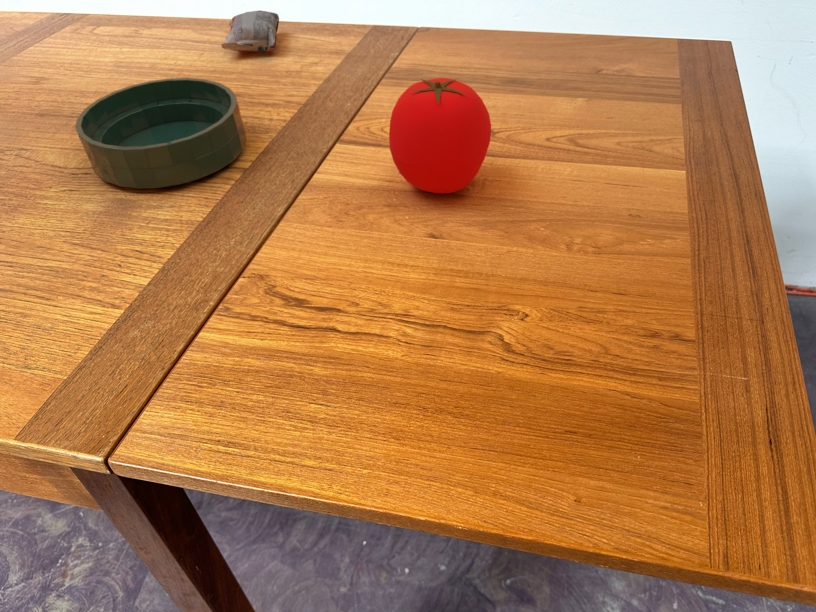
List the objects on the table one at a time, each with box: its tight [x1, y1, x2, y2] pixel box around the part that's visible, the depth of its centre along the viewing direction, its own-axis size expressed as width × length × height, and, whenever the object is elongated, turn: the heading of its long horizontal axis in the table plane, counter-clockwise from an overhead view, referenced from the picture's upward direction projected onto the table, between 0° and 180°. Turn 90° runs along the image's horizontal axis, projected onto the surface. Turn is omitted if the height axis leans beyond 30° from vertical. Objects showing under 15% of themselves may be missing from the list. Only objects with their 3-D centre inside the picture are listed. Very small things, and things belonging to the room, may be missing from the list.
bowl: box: [74, 77, 247, 189], centre depth 85 cm, size 19×19×6 cm
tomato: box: [388, 77, 492, 194], centre depth 76 cm, size 12×12×13 cm
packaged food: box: [220, 10, 280, 52], centre depth 112 cm, size 9×12×5 cm
